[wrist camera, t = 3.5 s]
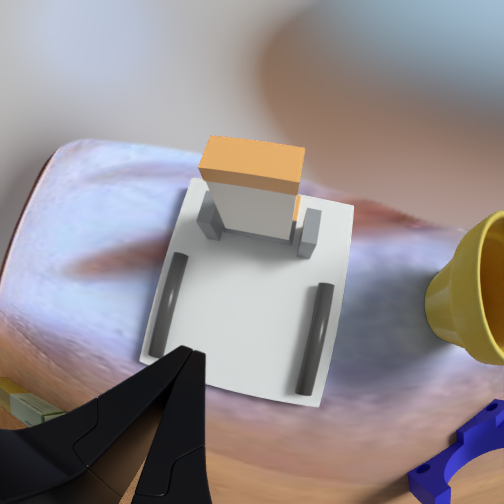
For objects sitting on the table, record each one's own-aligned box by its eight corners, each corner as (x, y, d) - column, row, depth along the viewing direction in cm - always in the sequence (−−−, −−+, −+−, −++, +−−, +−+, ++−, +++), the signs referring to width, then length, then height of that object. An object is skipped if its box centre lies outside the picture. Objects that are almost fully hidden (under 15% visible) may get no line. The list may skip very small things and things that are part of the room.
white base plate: (315, 402, 19) (327, 421, 14) (147, 360, 20) (116, 364, 16) (349, 213, 23) (366, 185, 18) (196, 185, 25) (180, 154, 20)
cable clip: (494, 398, 16) (530, 404, 11) (495, 429, 15) (528, 439, 9) (405, 461, 16) (435, 486, 10) (409, 490, 15) (435, 516, 9)
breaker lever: (291, 249, 20) (305, 183, 11) (225, 236, 21) (192, 166, 12) (295, 225, 21) (310, 149, 12) (231, 214, 21) (205, 135, 12)
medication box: (70, 410, 19) (44, 416, 16) (71, 433, 19) (47, 440, 15) (7, 376, 20) (-15, 375, 17) (8, 395, 20) (-14, 396, 16)
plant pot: (383, 309, 20) (451, 289, 11) (441, 229, 22) (502, 181, 13) (448, 383, 18) (521, 395, 8) (496, 300, 19) (563, 279, 10)
